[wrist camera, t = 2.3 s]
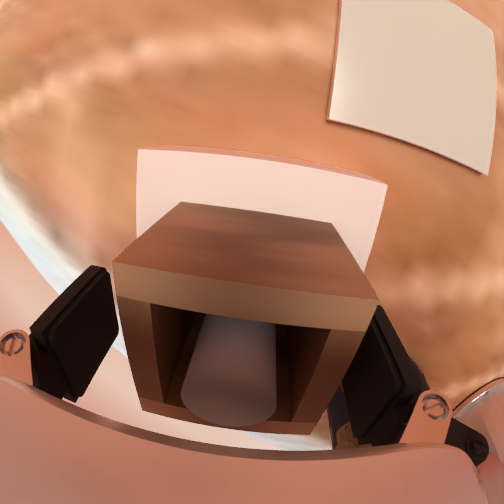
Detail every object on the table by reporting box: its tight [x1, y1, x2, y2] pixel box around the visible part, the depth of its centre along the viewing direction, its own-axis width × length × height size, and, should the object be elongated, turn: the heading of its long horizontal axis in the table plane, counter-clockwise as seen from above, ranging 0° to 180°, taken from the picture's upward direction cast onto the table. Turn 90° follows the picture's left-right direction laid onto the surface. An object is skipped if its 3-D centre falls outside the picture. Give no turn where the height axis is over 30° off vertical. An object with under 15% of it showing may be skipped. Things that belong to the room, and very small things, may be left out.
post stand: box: [136, 145, 388, 427], centre depth 12 cm, size 11×11×11 cm
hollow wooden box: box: [112, 202, 379, 435], centre depth 10 cm, size 7×7×6 cm
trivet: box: [326, 0, 497, 176], centre depth 11 cm, size 12×12×1 cm
